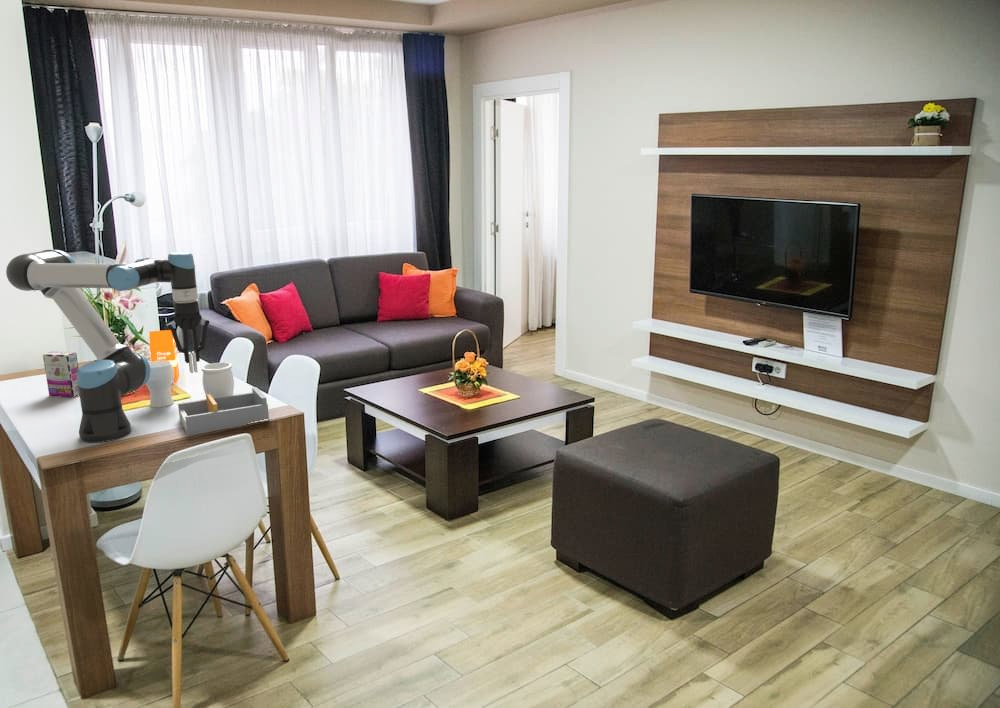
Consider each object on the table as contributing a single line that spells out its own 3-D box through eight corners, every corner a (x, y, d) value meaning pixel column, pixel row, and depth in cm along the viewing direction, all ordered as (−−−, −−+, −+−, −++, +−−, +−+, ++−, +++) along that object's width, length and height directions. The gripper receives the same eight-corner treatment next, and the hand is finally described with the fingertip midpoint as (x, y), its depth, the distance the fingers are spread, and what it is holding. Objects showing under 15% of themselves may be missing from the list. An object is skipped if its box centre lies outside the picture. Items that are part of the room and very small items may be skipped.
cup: (139, 406, 291) (134, 366, 287) (163, 398, 300) (158, 359, 297) (160, 410, 287) (155, 369, 283) (184, 401, 296) (179, 362, 292)
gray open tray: (187, 435, 261) (185, 411, 259) (179, 420, 276) (177, 397, 274) (269, 421, 273) (267, 398, 271) (257, 407, 288) (255, 386, 286)
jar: (226, 411, 284) (222, 370, 280) (199, 410, 286) (195, 369, 282) (241, 402, 294) (237, 362, 290) (215, 401, 296) (211, 361, 292)
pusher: (215, 424, 267) (213, 404, 265) (208, 413, 278) (205, 394, 276) (228, 422, 269) (226, 402, 267) (220, 411, 280) (218, 392, 278)
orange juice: (156, 377, 328) (150, 329, 323) (179, 375, 330) (174, 327, 325) (153, 383, 320) (147, 333, 315) (177, 381, 323) (171, 331, 318)
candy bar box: (83, 394, 307) (77, 352, 303) (73, 398, 302) (67, 355, 298) (58, 392, 309) (51, 350, 305) (48, 396, 305) (41, 354, 301)
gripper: (164, 304, 254) (173, 377, 260) (210, 300, 260) (217, 371, 266) (161, 301, 260) (169, 372, 266) (205, 297, 267) (213, 366, 273)
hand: (193, 371), depth 266 cm, fingers closed
